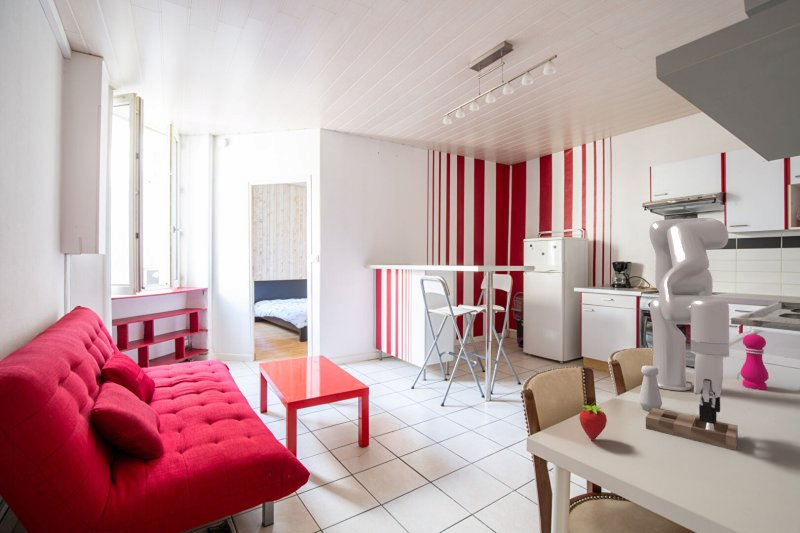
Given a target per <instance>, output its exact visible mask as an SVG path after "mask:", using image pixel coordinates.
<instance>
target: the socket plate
mask: <svg viewBox="0 0 800 533" xmlns="http://www.w3.org/2000/svg"><path fill="white" fill-rule="evenodd" d="M716 421H717V422H716V424H713V426H714V431H712V430H707V429H706V425H707V422H702V421H700V420H699V416H695V415H689V414H686V413H685V414H684V413H679V412H675V411H672V410H671V411H670V410H665V409H661V408H660V409H657V408H652V410H651V411H650V412H648V413H647V414H646V416H645V429H646V430H651V431H655V432H659V433H662V434H663V433H664V434H666V435H667V434H668V435H670V436H675V437H680V438H684V439H688V440H692V441H695V442H699V443H700V442H701V443H703V444H709V445H712V446H715V447H721V448H725V449H728V450H732V451H736V450H737V444H738V438H739V436H738V435H739V432H738V431H739V430H738V429H739V428H738V425H736V424H732V423H727V422H722V421H718V420H716Z"/></svg>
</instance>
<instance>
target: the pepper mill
mask: <svg viewBox="0 0 800 533" xmlns="http://www.w3.org/2000/svg"><path fill="white" fill-rule="evenodd" d="M742 344H743V345H744V346H745V347H744V352H745V355H746V357H745V361H744V363H743V365H742V367H741V369H740V376H741V377H742V378H743V380H741V382H742V387H744V388H746V389H750V388H752V389H751V390H756V389H760V390H759V391H765V389H766V390H767V389H768V388H767V387H768V384H767V383H766V382H767V381H768V380H769V372H768V370H767V368H766V366H765V365H764V360H763V355H764V354H765V352H764V351H765V349H764V348H765V347H766V345H767V341H766V339H765V338H764V337H763V336H761V335H759V334H758V331H757V330H756V329H752V330H750V334H746V335H744V337H742Z"/></svg>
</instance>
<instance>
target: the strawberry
mask: <svg viewBox="0 0 800 533" xmlns="http://www.w3.org/2000/svg"><path fill="white" fill-rule="evenodd" d="M595 403H596V401H593V404H594V405H589V404H588V405H582V407H583V408H582V409H581V411H580V413H579V417H578V419H579V422H580V426H581V428H582V430H583V431H584V433H585V435H587V437H588V438H589V439H590V440H591V441H596V439H597V438H598V436H600V434H602V432H603V431H604V430H605V428H606V426H607V422H608V420H607V415H606V413H605V412H604V411H603V410H601V409H602V407H599V406H596V404H595Z"/></svg>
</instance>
